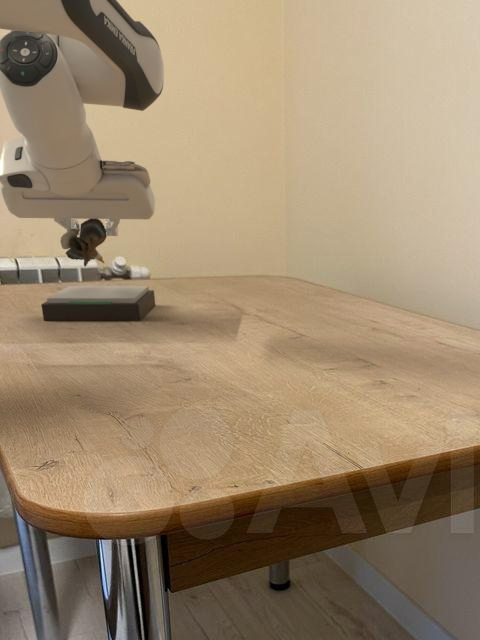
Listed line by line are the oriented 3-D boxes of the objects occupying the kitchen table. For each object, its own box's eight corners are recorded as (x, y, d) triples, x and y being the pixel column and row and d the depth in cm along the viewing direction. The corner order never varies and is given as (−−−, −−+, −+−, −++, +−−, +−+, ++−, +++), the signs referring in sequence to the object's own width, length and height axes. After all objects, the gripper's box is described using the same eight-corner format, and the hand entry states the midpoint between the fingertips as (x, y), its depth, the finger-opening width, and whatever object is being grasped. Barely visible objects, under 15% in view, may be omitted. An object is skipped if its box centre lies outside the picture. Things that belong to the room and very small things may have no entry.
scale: (43, 320, 105) (40, 298, 104) (69, 304, 118) (66, 285, 116) (140, 320, 106) (137, 298, 105) (155, 304, 119) (153, 285, 118)
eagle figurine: (124, 257, 107) (118, 240, 113) (92, 216, 102) (88, 201, 109) (83, 286, 107) (80, 267, 114) (49, 246, 102) (47, 230, 109)
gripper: (146, 145, 97) (164, 217, 110) (-9, 141, 95) (27, 215, 108) (144, 180, 95) (162, 249, 108) (-15, 177, 93) (22, 248, 106)
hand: (93, 232), depth 108 cm, fingers closed on eagle figurine, 4 cm apart
